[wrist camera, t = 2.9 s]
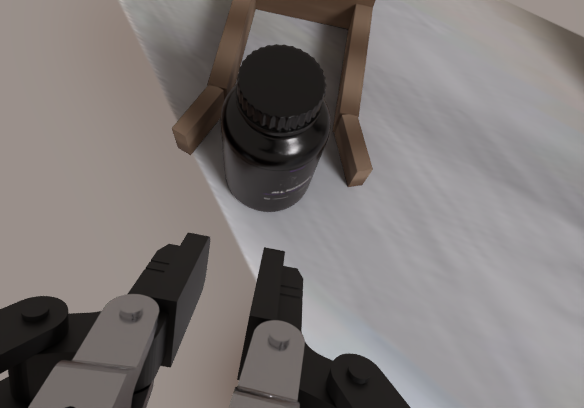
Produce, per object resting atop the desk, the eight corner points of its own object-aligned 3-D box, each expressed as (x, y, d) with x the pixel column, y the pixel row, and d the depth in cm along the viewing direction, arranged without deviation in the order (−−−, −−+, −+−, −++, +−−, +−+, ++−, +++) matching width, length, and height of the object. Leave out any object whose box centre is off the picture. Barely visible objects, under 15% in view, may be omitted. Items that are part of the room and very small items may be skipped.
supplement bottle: (286, 230, 31) (308, 160, 20) (209, 188, 31) (188, 97, 20) (325, 160, 33) (364, 63, 22) (252, 123, 34) (255, 9, 23)
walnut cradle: (361, 189, 33) (395, 141, 25) (176, 152, 32) (155, 91, 25) (381, 20, 39) (413, -58, 32) (228, -14, 39) (224, -101, 31)
